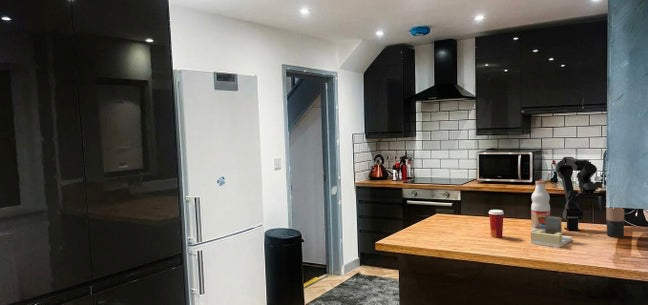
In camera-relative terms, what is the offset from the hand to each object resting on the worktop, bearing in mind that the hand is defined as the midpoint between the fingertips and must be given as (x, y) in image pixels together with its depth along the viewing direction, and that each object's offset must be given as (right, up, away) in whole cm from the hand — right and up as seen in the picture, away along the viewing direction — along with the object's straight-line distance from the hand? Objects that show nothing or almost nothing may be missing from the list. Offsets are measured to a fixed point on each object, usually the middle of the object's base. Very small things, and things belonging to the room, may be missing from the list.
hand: (591, 210), depth 217 cm
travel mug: (+18, -15, +9) cm, 25 cm away
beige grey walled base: (-18, -16, +3) cm, 24 cm away
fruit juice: (-13, -15, +25) cm, 32 cm away
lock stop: (-16, -14, +5) cm, 22 cm away
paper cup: (-41, -16, +17) cm, 47 cm away
